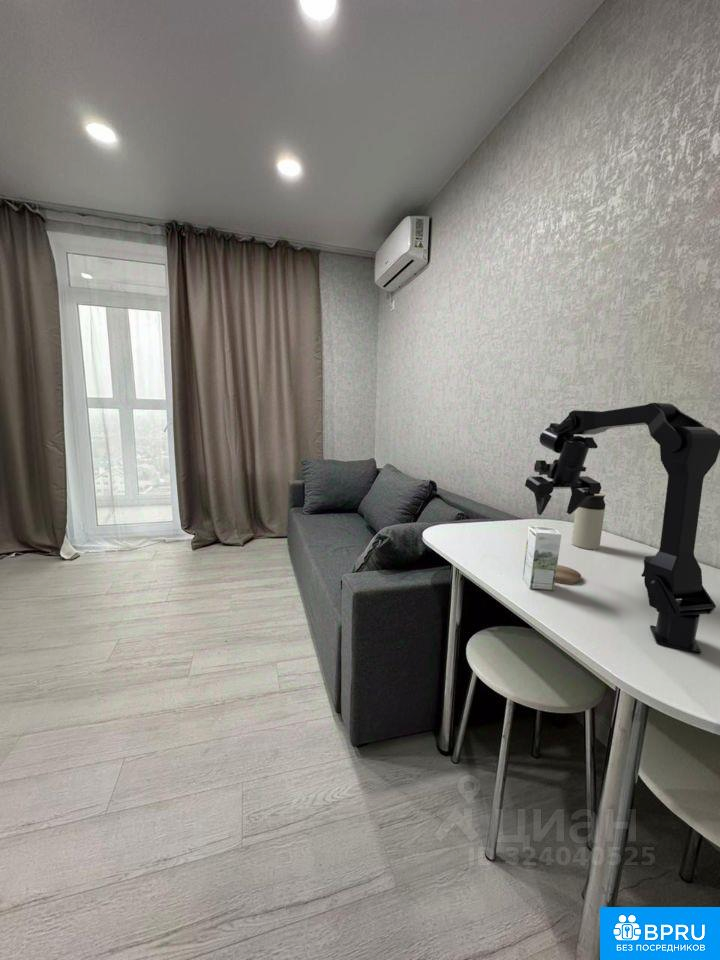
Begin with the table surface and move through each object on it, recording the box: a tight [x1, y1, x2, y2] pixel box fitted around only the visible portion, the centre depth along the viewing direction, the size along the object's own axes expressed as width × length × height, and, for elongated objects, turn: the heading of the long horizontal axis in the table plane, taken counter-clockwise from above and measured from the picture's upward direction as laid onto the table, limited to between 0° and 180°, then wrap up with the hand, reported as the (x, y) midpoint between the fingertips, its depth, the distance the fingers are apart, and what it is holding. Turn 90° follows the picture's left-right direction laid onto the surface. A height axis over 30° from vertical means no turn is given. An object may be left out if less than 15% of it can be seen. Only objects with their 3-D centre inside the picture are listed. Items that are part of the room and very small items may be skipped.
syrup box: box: [522, 525, 562, 591], centre depth 93 cm, size 6×6×14 cm
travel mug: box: [571, 491, 607, 550], centre depth 124 cm, size 8×8×18 cm
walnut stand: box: [555, 564, 582, 585], centre depth 100 cm, size 10×10×1 cm
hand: (553, 514), depth 102 cm, fingers open, 9 cm apart
